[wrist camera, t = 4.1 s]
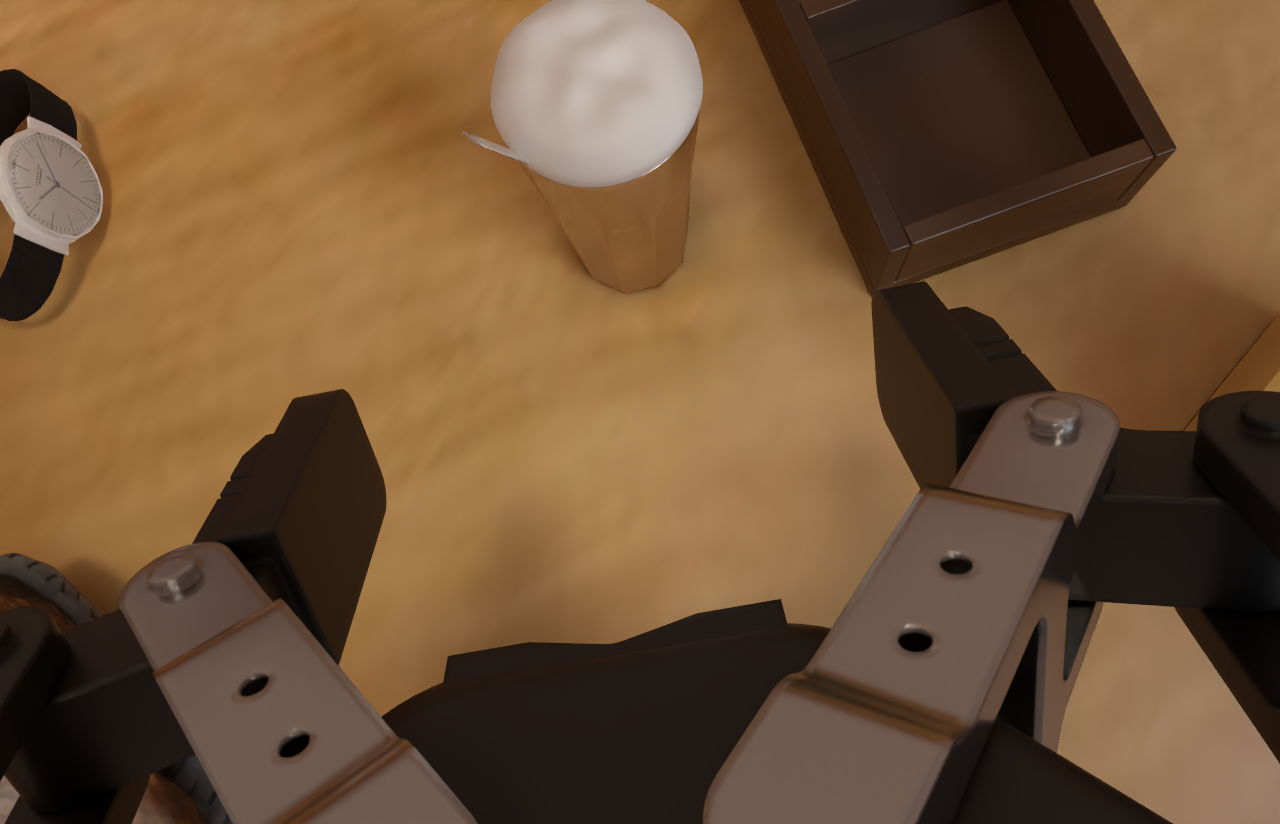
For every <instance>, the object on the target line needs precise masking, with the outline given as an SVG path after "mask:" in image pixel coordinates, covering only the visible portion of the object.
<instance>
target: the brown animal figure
mask: <svg viewBox="0 0 1280 824" xmlns="http://www.w3.org/2000/svg"><path fill="white" fill-rule="evenodd" d="M23 606H36V607H40V608H43V609H45V610H46V611H47V612H48V613H49V614H50V616H51V617H52V619H53V620H54V622H55V623H56V625H57V626H58V628H59V629H60V630H61V632H62V631H64V630H67V629H70V628H72V627H75V626H78V625H80V624H83V623H86V622H88V621H91V620H93V619H96V618H99V617H101V616H102V615H101V613H100V612H99V611H98V609H97V608H96V607H95V606H94V605H93V604H92V603H91V602H90V601H89V600H88V599H87V598H86V597H85V596H84V595H82V594H81V593H80V592H79V591H78V590H77V589H76V588H75V587H74V586H73V585H72V584H71V583H70V582H69V581H68V580H67V579H66V578H65V577H64V576H63V575H62V574H61V573H60V572H59V571H58V570H56V569H55V568H54V567H52V566H50V565H48V564H46V563H43V562H40V561H37V560H34V559H32V558H29V557H27V556H25V555H21V554H17V553H10V554H5V555H2V556H0V612H2V611H5V610H9V609H13V608H17V607H23ZM19 796H20V795H19V794H18V792H17V791H16V790H15V789H14V787H13V786H12V785H11V784H10V782H9V781H8V780H7V779H6V777H5V776H3V778H2V780H1V781H0V824H4V823H5V822H6V820H7V818H8V816H9V814H10V812H11V810H12V809H13V807H14V805H15V803H16V801H17V799H18V798H19ZM132 824H233V823H232V821H231V819H230V817H229V815H228V814H227V812H226V810H225V808H224V806H223V804H222V802H221V801H220V799H219V797H218V795H217V793H216V791H215V789H214V788H213V786H212V784H211V782H210V780H209V778H208V776H207V775H206V773H205V771H204V769H203V767H202V765H201V763H200V761H199V760H198V758H197V756H196V755H195V756H192V757H190V758H187V759H185V760H183V761H180V762H178V763H176V764H173V765H171V766H169V767H166V768H164V769H161V770H159V771H157V772H154V773H152V774H151V776H150V780H149V783H148V786H147V788H146V791H145V793H144V795H143V798H142V800H141V803H140V805H139V808H138V810H137V813H136V815H135V818H134V820H133V822H132Z"/></svg>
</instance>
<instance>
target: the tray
mask: <svg viewBox="0 0 1280 824" xmlns="http://www.w3.org/2000/svg"><path fill="white" fill-rule="evenodd" d="M740 2H741V4H742V6H743V8H744V11H745V13H746V15H747V17H748V20H749V22H750V24H751V26H752V29H753V31H754V33H755V35H756V38H757V40H758V42H759V44H760V47H761V49H762V51H763V53H764V56H765V58H766V60H767V62H768V65H769V67H770V69H771V71H772V74H773V76H774V78H775V80H776V83H777V85H778V87H779V89H780V92H781V94H782V96H783V98H784V101H785V103H786V105H787V107H788V110H789V112H790V114H791V116H792V119H793V121H794V123H795V125H796V128H797V130H798V132H799V134H800V137H801V139H802V141H803V143H804V146H805V148H806V150H807V152H808V155H809V157H810V159H811V161H812V164H813V166H814V168H815V170H816V173H817V175H818V177H819V179H820V182H821V184H822V186H823V188H824V191H825V193H826V195H827V197H828V200H829V202H830V204H831V206H832V209H833V211H834V213H835V215H836V218H837V220H838V222H839V224H840V227H841V229H842V231H843V233H844V236H845V238H846V240H847V242H848V245H849V247H850V249H851V251H852V254H853V256H854V258H855V260H856V263H857V265H858V267H859V269H860V272H861V274H862V276H863V278H864V281H865V283H866V285H867V287H868V290H869V292H870V294H871V296H872V295H873V292H874V291H875V290H881V289H886V288H891V287H897V286H902V285H907V284H910V283H913V282H916V281H919V280H921V279H924V278H927V277H930V276H932V275H935V274H938V273H941V272H944V271H946V270H949V269H952V268H955V267H957V266H960V265H963V264H966V263H968V262H971V261H974V260H977V259H979V258H982V257H985V256H988V255H990V254H993V253H996V252H999V251H1001V250H1004V249H1007V248H1010V247H1013V246H1015V245H1018V244H1021V243H1024V242H1026V241H1029V240H1032V239H1035V238H1037V237H1040V236H1043V235H1046V234H1048V233H1051V232H1054V231H1057V230H1059V229H1062V228H1065V227H1068V226H1070V225H1073V224H1076V223H1079V222H1082V221H1084V220H1087V219H1090V218H1093V217H1095V216H1098V215H1101V214H1104V213H1106V212H1109V211H1112V210H1115V209H1117V208H1120V207H1123V206H1126V205H1127V204H1128V203H1129V201H1130V200H1131V199H1132V198H1133V197H1134V196H1135V195H1136V194H1137V193H1138V191H1139V190H1140V189H1141V188H1142V187H1143V186H1144V185H1145V184H1146V183H1147V181H1148V180H1149V179H1150V178H1151V177H1152V176H1153V175H1154V174H1155V173H1156V171H1157V170H1158V169H1159V168H1160V167H1161V166H1162V165H1163V164H1164V163H1165V161H1166V160H1167V159H1168V158H1169V157H1170V156H1171V155H1172V154H1173V153H1174V151H1175V150H1176V146H1175V144H1174V142H1173V141H1172V139H1171V137H1170V135H1169V134H1168V132H1167V130H1166V128H1165V126H1164V125H1163V123H1162V121H1161V119H1160V118H1159V116H1158V114H1157V112H1156V110H1155V109H1154V107H1153V105H1152V103H1151V102H1150V100H1149V98H1148V96H1147V95H1146V93H1145V91H1144V89H1143V87H1142V86H1141V84H1140V82H1139V80H1138V79H1137V77H1136V75H1135V73H1134V71H1133V70H1132V68H1131V66H1130V64H1129V63H1128V61H1127V59H1126V57H1125V55H1124V54H1123V52H1122V50H1121V48H1120V47H1119V45H1118V43H1117V41H1116V40H1115V38H1114V36H1113V34H1112V32H1111V31H1110V29H1109V27H1108V25H1107V24H1106V22H1105V20H1104V18H1103V16H1102V15H1101V13H1100V11H1099V9H1098V8H1097V6H1096V4H1095V2H1094V0H740Z"/></svg>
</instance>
